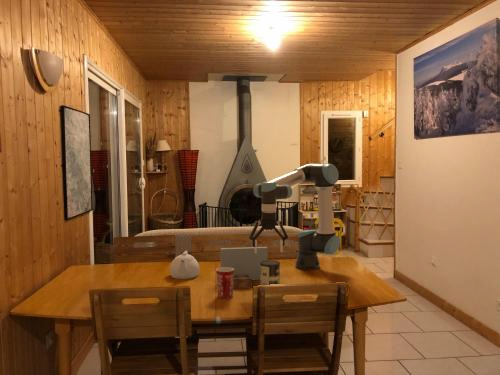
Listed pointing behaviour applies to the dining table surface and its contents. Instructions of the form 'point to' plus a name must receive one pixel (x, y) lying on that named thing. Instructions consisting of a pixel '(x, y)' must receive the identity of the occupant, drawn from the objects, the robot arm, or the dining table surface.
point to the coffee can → (269, 272)
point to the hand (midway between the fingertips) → (268, 252)
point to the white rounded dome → (184, 267)
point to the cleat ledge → (242, 281)
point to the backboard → (244, 260)
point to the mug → (225, 282)
